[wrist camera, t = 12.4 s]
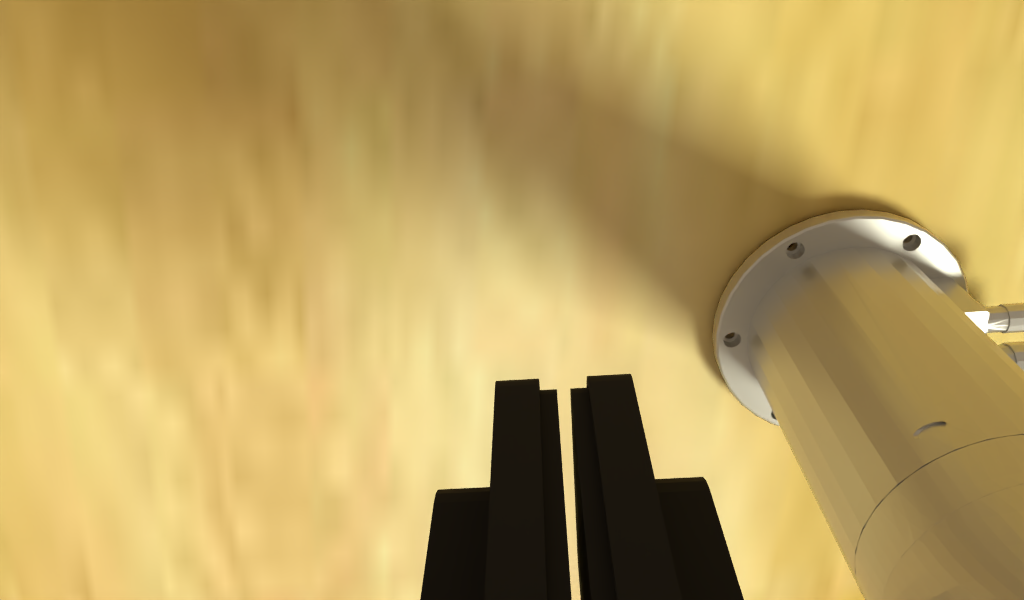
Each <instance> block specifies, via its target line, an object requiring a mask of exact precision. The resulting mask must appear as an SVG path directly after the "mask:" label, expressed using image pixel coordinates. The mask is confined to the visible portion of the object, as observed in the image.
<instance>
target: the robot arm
mask: <svg viewBox="0 0 1024 600" xmlns="http://www.w3.org/2000/svg"><path fill="white" fill-rule="evenodd" d="M792 243H794V245H793V246H791V247H788V246H789V245H791V244H792ZM993 332H1002V333H1014V332H1024V303H1016V304H1001V305H999V306H991V307H984V306H983V304H982V303H980V302H977V301H976V300H975V299H974V298H972V297H971V296H970V295H969V293H968V287H967V282H966V277H965V275H964V273H963V271H962V269H961V267H960V264H959V262H958V260H957V259H956V257H955V256H954V255H953V254H952V253H951V251H950V250H949V249H948V248H947V246H946V245H945V244H944V243H943V242H942V241H940V240H939V239H938V238H937V237H936V236H935V235H933V234H932V233H931V232H930V231H929V230H927V229H926V228H924V227H922V226H920V225H919V224H917V223H915V222H913V221H912V220H910V219H907V218H904V217H901V216H898V215H895V214H892V213H889V212H882V211H873V210H864V209H862V210H847V211H836V212H832V213H828V214H824V215H820V216H816V217H812V218H810V219H807V220H805V221H802V222H800V223H798V224H795V225H793V226H791V227H788V228H787V229H785V230H783V231H782V232H780V233H779V234H777V235H775V236H774V237H772V238H771V239H769V240H767V241H766V242H765V243H764V244H763V245H761V246H760V247H759V248H758V249H757V250H756V251H755V252H753V253H752V254H751V255H750V256H749V257H748V258H747V259H746V260H745V261H744V263H743V264H742V265H741V266H740V267H739V269H738V270H737V271H736V272H735V274H734V275H733V276H732V278H731V279H730V281H729V283H728V285H727V287H726V288H725V290H724V292H723V294H722V296H721V298H720V301H719V304H718V307H717V310H716V313H715V317H714V326H713V335H712V339H713V347H714V355H715V359H716V361H717V364H718V367H719V370H720V373H721V375H722V377H723V379H724V381H725V383H726V385H727V387H728V389H729V390H730V392H731V393H732V394H733V395H734V396H735V398H736V399H737V400H738V401H739V402H740V403H741V405H743V406H744V407H745V408H747V409H748V410H749V411H751V412H752V413H753V414H755V415H756V416H757V417H759V418H761V419H763V420H765V421H767V422H769V423H771V424H774V425H777V426H780V427H781V429H782V431H783V433H784V435H785V437H786V440H787V442H788V444H789V446H790V448H791V450H792V452H793V454H794V456H795V458H796V460H797V462H798V464H799V466H800V468H801V470H802V472H803V474H804V476H805V478H806V480H807V483H808V485H809V487H810V489H811V491H812V493H813V495H814V497H815V499H816V501H817V503H818V505H819V507H820V509H821V511H822V513H823V515H824V517H825V519H826V521H827V524H828V526H829V528H830V530H831V532H832V534H833V536H834V538H835V540H836V542H837V544H838V546H839V548H840V550H841V552H842V554H843V556H844V558H845V560H846V562H847V564H848V567H849V569H850V571H851V573H852V575H853V577H854V579H855V581H856V583H857V585H858V587H859V589H860V591H861V593H862V594H863V596H864V598H865V600H1024V342H1009V343H1003V344H1000V345H997V344H996V343H995V342H994V341H993V340H992V339H991V338H990V337H989V336H988V335H987V333H993ZM729 333H730V334H729ZM571 415H572V438H573V461H574V484H575V507H576V530H577V552H578V569H579V582H580V594H581V600H744V599H743V596H742V592H741V589H740V586H739V583H738V580H737V576H736V573H735V570H734V567H733V563H732V560H731V557H730V554H729V550H728V547H727V544H726V541H725V537H724V534H723V531H722V528H721V525H720V521H719V518H718V515H717V512H716V508H715V505H714V502H713V499H712V495H711V492H710V489H709V487H708V484H707V482H706V480H705V479H704V478H703V477H693V478H672V479H655V478H654V473H653V469H652V464H651V460H650V455H649V451H648V446H647V442H646V438H645V433H644V429H643V424H642V420H641V415H640V411H639V406H638V402H637V397H636V393H635V388H634V384H633V379H632V376H631V374H620V375H601V376H587V388H575V389H571ZM420 600H571V586H570V572H569V557H568V543H567V529H566V515H565V501H564V486H563V472H562V458H561V444H560V430H559V415H558V401H557V389H556V390H540V386H539V379H525V380H507V381H496V383H495V400H494V420H493V440H492V460H491V479H490V487H485V488H464V489H443V490H438V491H437V492H436V495H435V500H434V506H433V513H432V520H431V528H430V535H429V542H428V549H427V556H426V564H425V571H424V578H423V585H422V592H421V599H420Z"/></svg>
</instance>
